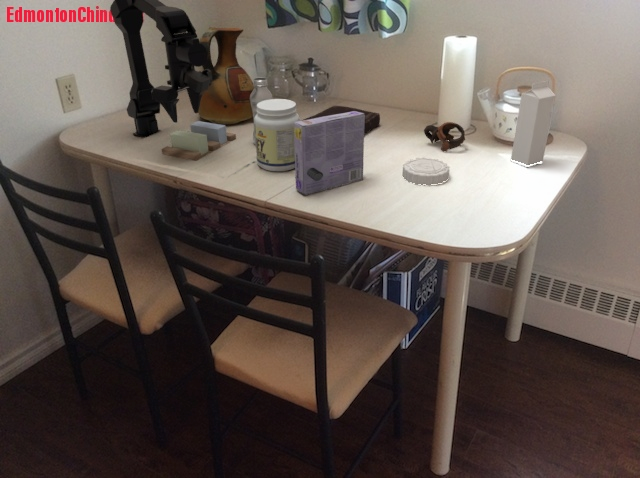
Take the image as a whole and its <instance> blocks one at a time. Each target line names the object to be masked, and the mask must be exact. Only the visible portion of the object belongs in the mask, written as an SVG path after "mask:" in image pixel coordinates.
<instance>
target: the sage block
mask: <svg viewBox="0 0 640 478" xmlns="http://www.w3.org/2000/svg"><path fill="white" fill-rule="evenodd" d="M169 139H170V145H171V146H170V147H173V148H179V149H184V150H189V151H194V152H200V153H201V155H203V154H205V153H207V152H209V151H208V142H207V135H204V134H199V133H193V132H191V131H186V130H182V129H181V130H180V129H179V130H178V129H177V130H176V131H174V132H171V133H170V134H169Z"/></svg>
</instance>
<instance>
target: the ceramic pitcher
mask: <svg viewBox="0 0 640 478" xmlns="http://www.w3.org/2000/svg"><path fill="white" fill-rule="evenodd" d="M243 32H244V29H243V28H237V27H232V28H231V27H229V28H228V27H227V28H225V27H224V28H223V27H221V28H220V27H209V28H208V30H206V31H205V32H204V33H203V34H202V36H201V38H199V43H200V44H202V45H203V46H204V47H205V48H206V50H207V52H208V57H207V60H206V62H205V64H204V65H202V66H201V67H202V69H203V70H206V69H208V70H210V71H211V73H212V80H213V82H212V83H211V85H210V86H209V88H208V90H206V91H205V92H204V93H203V94H202V97H201V101H200V106H199V111H198V113H197V114H198V115H199V117H200V118H202V119H204V120H206V121H208V122H210V123H213V124H220V125H236V124H239V123H240V122H243V121H246V120H249V119H251V118H253V112H252V107H251V103H250V94H251V93H252V91H253V89H254V88H255V86H254V81H253V80H252V78H251V77H250V75H249V74H248V72H247V71H246V70H245V69H244V68H243V67H242V66H240V64H239V62H238V58H237V54H236V52H237V40H238V38H239V36H241V35H242V33H243ZM213 38H215V40H216V44H217V52H218V53H217V60H216V62H215V65H214V64H213V62H212V56H211V45H212V40H213Z"/></svg>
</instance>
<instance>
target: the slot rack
mask: <svg viewBox="0 0 640 478" xmlns="http://www.w3.org/2000/svg"><path fill="white" fill-rule="evenodd" d="M226 134H227V142H226V143H224V144H222V145H220V142H215V141H210V140H207V142H208V151H209V152H207V153H205V154H203V155H201V153H200V152H194V151H189V150H184V149H179V148H173V147H172V146H165V147H163V148H161V154H162V155H164V156H165V155H166V156H170V157H175V158H179V159H185V160H189V161H195V162H197V161H198V160H200V159H202V158H204V157H206V156H208V155H210V154H211V153H213V152H214V151H217V150H219V149H221V148H222V147H224V146H226V145H228V144H230V143H231V142H234V141H235V140H236V139H237V135H236V133H232V132H227V131H226Z"/></svg>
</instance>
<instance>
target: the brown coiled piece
mask: <svg viewBox="0 0 640 478" xmlns="http://www.w3.org/2000/svg"><path fill="white" fill-rule="evenodd" d="M454 129H457V131H458V132H460V133H461V134H460V137H458V138H455V136H454V135H452V134H451V133H450V131H451V130H454ZM423 132H424V135H425V136H426V138H427V139H429V140H430V143H431V144H434V143H435V142H436V141H437V142H439V141H440V142H441V143H442V145H441V147H440V151H442V152H444V151H446V152H447V151H448V150H453V149H456V148H458V147H461V145H463V143H464V142H465V140H466V138H465V133H466V132H465V130H464V128H463V126H461V125H460V124H458V123H456V122H452V121H450V122H449V121H447V122H444V123H443V124H441V125H439V126H435V125H433V124H429V125H426V126H425V127H424V129H423ZM447 140H449V141H447ZM437 142H436V143H437Z"/></svg>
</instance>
